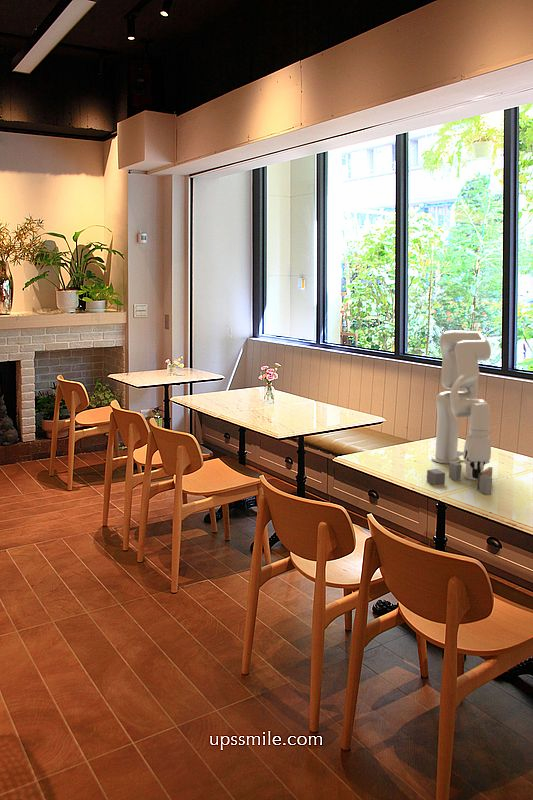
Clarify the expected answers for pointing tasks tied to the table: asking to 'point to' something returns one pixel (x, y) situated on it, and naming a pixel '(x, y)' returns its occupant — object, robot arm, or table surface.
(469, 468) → the white cup
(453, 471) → the block
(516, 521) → the table surface
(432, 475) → the grey rectangular block
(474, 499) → the table surface
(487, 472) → the door
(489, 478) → the hinge jamb
